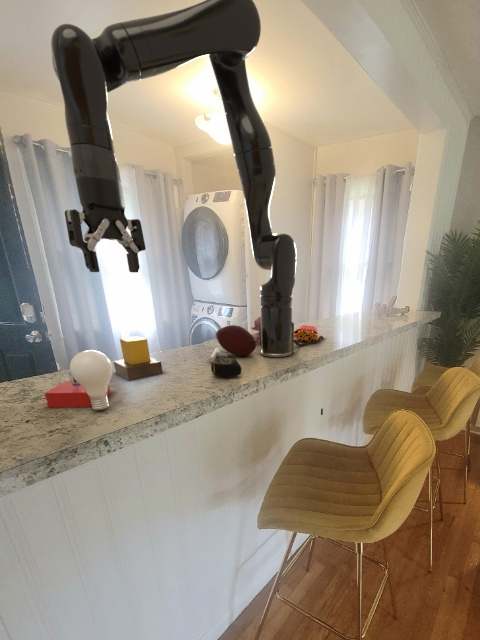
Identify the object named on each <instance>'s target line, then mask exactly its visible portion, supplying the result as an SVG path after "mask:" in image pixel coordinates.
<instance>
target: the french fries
mask: <svg viewBox="0 0 480 640" xmlns="http://www.w3.org/2000/svg"><path fill="white" fill-rule="evenodd" d="M318 334H319V333H318V329H317V327H315V326H314V325H308V324H307V325H304V324H303V325H301V326H300V327H298V328H297V329H296V330H294V339H295V340H296V341H300V342H302V341H305V342H310V341H316V340H318V338H319V335H318Z"/></svg>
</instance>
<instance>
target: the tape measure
mask: <svg viewBox="0 0 480 640" xmlns="http://www.w3.org/2000/svg"><path fill="white" fill-rule="evenodd" d="M210 372H211V373H212V375H214V376H216V377H219V378H229V377H235V376H239V375H241V374H242V367H241V365H240V363H239V361H238V360H237V359H236V358H235V357H232V358H229V357H218V358H216V359H215V360H213V361H212V362H210Z"/></svg>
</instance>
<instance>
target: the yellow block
mask: <svg viewBox="0 0 480 640" xmlns="http://www.w3.org/2000/svg"><path fill="white" fill-rule="evenodd" d="M119 342H120V347H121V348H120V349H121V353H122V360H124V362H127V363H129V364H131V365H135V364H140V363H146V362H150V357H151V355H150V348H149V343H148V339H147V338H145V337H141V336H139V335H138V336H129V337H122V338H119Z"/></svg>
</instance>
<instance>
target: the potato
mask: <svg viewBox="0 0 480 640" xmlns="http://www.w3.org/2000/svg"><path fill="white" fill-rule="evenodd" d="M215 337H216V340H217V342H218V344H219V345H220V346H221V348H222V349H223V350H225V352H228V354H230V355H233V356H236V357H247V356H249V355H252V354H253V352H254V351H255V349H256V348H257V342H255V339H254V338H253V336H252V334H251V332H250V331H249V330H247V329H246V328H244V327H242V326H240V325H236V324H230V325H226V326H223V327H221V328H219V329H217V330H216V332H215Z"/></svg>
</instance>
